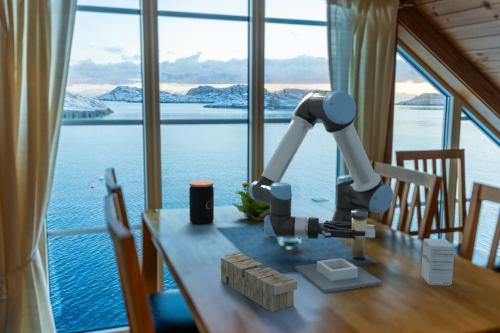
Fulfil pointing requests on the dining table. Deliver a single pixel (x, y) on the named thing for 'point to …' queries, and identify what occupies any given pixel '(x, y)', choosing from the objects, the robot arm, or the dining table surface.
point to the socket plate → (337, 275)
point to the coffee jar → (201, 202)
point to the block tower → (258, 282)
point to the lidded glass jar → (358, 223)
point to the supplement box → (437, 261)
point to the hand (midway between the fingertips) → (374, 231)
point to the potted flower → (252, 205)
